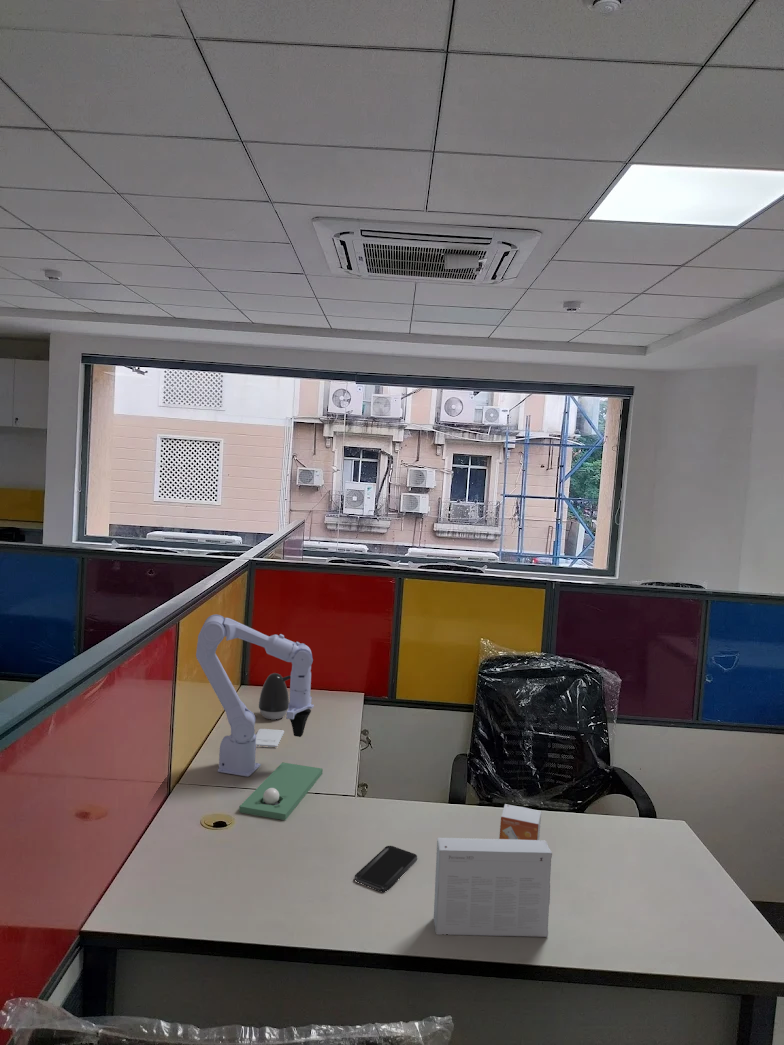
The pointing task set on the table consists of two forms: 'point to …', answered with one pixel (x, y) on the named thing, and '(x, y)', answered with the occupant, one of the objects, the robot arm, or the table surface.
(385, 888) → the phone
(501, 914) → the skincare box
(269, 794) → the ball
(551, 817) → the table surface
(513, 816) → the small box
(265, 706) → the pump dispenser
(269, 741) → the external hard drive
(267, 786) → the putting deck
